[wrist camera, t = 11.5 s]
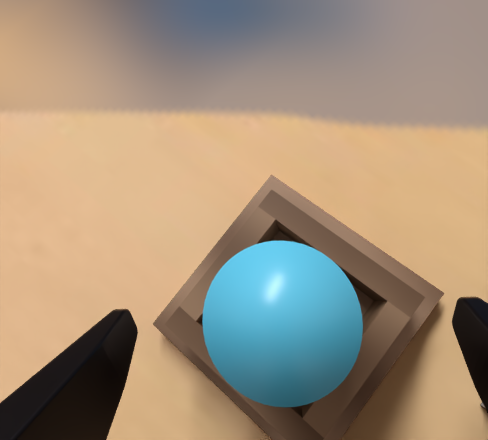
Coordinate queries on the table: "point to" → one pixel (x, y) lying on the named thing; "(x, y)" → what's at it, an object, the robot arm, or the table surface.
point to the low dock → (363, 281)
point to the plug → (282, 323)
